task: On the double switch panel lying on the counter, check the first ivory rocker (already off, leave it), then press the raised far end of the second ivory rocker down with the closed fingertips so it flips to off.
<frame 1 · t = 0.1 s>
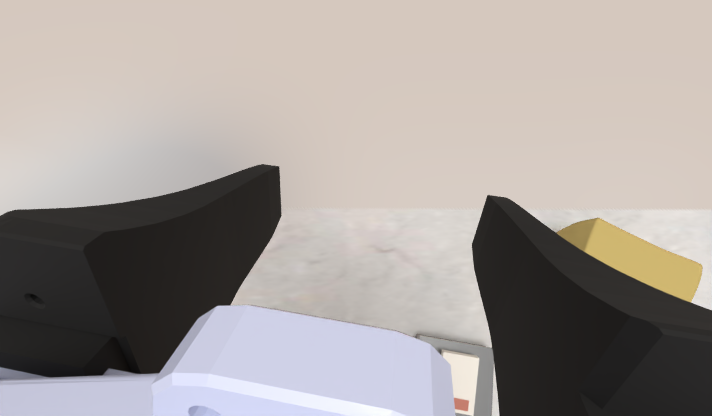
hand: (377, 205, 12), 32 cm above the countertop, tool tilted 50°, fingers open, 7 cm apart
double switch panel: (445, 411, 38), on the countertop
rocker 2: (457, 381, 35), point 4 cm above the countertop, hinge at -10.0°
cheese: (571, 291, 41), on the countertop
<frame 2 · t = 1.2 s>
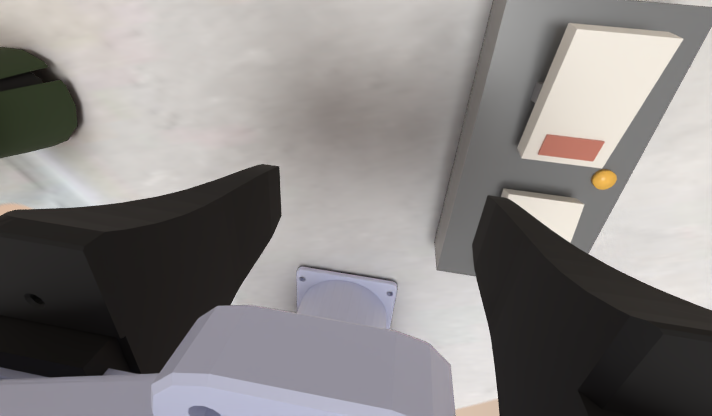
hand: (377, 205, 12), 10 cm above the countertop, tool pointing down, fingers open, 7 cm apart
character mug: (43, 96, 23), on the countertop
double switch panel: (528, 150, 20), on the countertop
rocker 2: (587, 102, 14), point 4 cm above the countertop, hinge at -10.0°
rocker 1: (527, 244, 18), point 4 cm above the countertop, hinge at 10.0°
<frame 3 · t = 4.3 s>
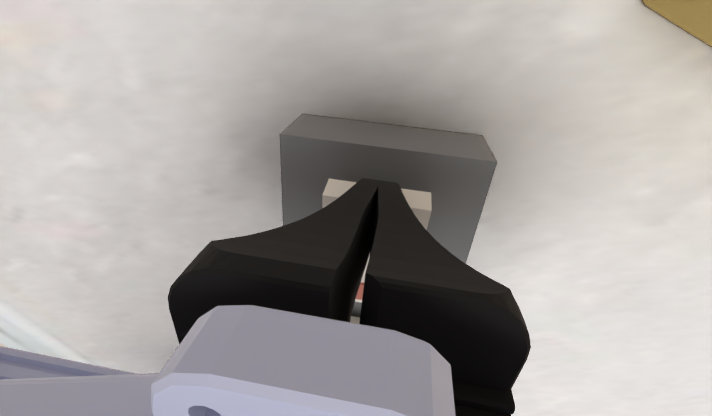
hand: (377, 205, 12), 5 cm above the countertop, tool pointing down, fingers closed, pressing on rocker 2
double switch panel: (372, 257, 19), on the countertop
rocker 2: (370, 251, 13), point 4 cm above the countertop, hinge at -8.8°, touching gripper
rocker 1: (355, 370, 17), point 4 cm above the countertop, hinge at 10.0°
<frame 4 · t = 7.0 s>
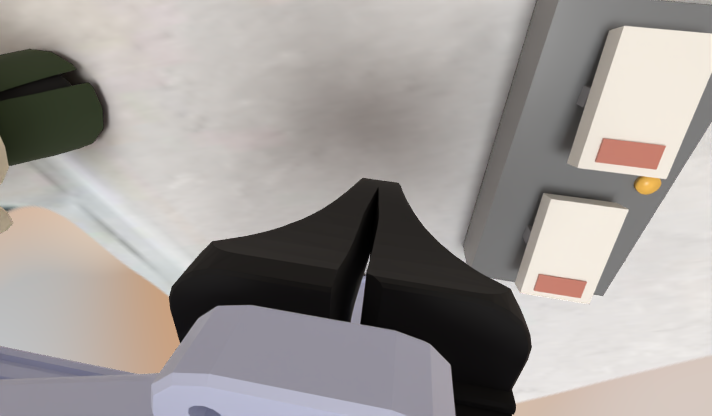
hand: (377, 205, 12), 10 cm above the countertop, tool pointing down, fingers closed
character mug: (68, 98, 23), on the countertop
double switch panel: (564, 153, 20), on the countertop
rocker 2: (639, 106, 14), point 4 cm above the countertop, hinge at 11.5°
rocker 1: (567, 250, 18), point 4 cm above the countertop, hinge at 10.0°
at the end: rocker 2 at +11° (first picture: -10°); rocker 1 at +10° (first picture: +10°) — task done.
